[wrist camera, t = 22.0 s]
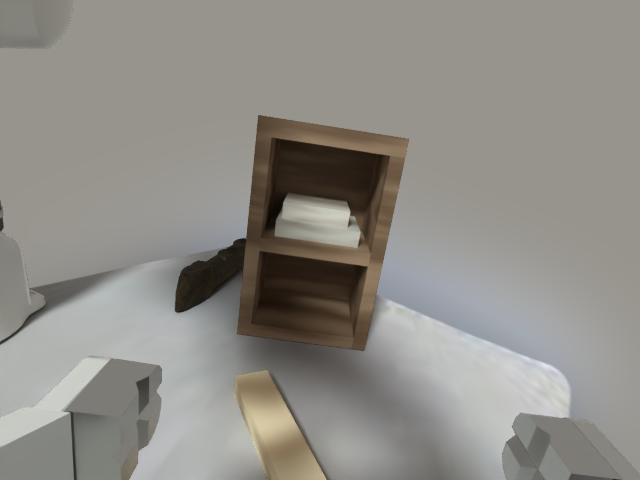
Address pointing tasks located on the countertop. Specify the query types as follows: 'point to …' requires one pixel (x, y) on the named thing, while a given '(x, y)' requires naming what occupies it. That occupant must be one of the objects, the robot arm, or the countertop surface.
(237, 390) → the oak slat
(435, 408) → the countertop surface
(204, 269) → the hand tool
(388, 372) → the countertop surface
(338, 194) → the wooden shelf
